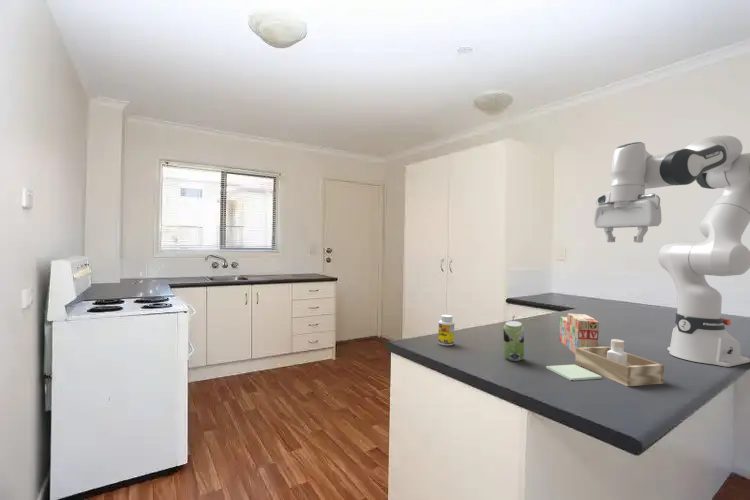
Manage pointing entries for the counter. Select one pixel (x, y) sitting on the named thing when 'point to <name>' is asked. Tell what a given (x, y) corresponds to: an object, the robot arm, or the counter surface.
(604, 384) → the counter surface
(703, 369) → the counter surface
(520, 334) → the beverage can
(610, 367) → the open wooden box
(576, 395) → the counter surface
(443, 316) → the supplement bottle
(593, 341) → the stack of blocks
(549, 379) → the counter surface
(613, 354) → the salt shaker
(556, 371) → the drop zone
